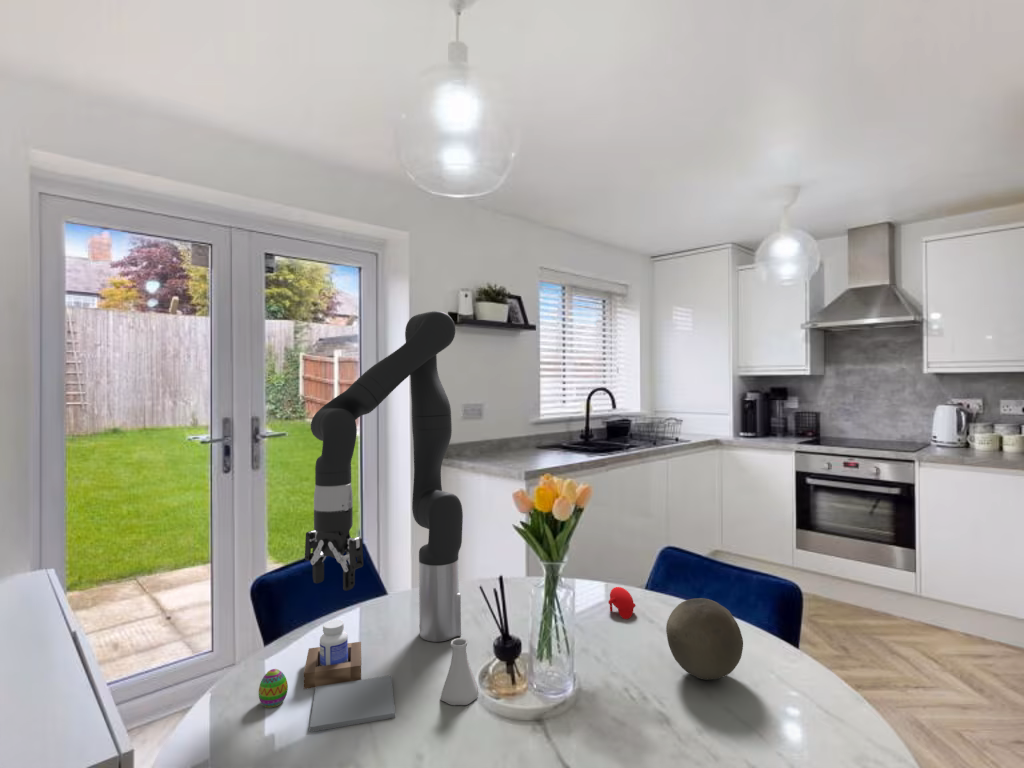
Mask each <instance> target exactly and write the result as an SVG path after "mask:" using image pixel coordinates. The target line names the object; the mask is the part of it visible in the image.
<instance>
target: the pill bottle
mask: <svg viewBox="0 0 1024 768" xmlns="http://www.w3.org/2000/svg"><path fill="white" fill-rule="evenodd" d="M322 625H323V626H322V632H323V633H322V635H321V636H320V638H319V647H320V666H326V665H333V664H340V663H347V662H348V643H349V641H348V638H349V637H348V633H347V632H346V631H345V630H344V628H345V627H344V625H345V623H344V621H343V620H341V619H331V620H329V621H328V620H327V621H326V622H324V623H323V624H322Z"/></svg>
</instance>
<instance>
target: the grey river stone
mask: <svg viewBox="0 0 1024 768" xmlns="http://www.w3.org/2000/svg"><path fill="white" fill-rule="evenodd" d="M665 629H666V630H665V631H666V637H667V638H666V639H667V643H668V647H669V650H670V652H671V654H672V656H673V658H674V660H675V661H676V662H677V663H678V665H679V666H680V667H681V669H683V670H684V671H685V672H687V674H689V675H692V676H694V677H696V678H698V679H700V680H708V681H709V680H717V679H718V680H719V679H722V678H724V677H726V676H728V675H729V674H731V673H732V672H733V671H734V670H735V669H736V667H737V666H738V664H739V663H740V661H741V658H742V656H743V655H742V654H743V652H744V651H743V650H744V639H743V635H742V631H741V629H740V627H739V624H738V622H737V621H736V619H735V618H734V616H733V614H732V613H731V611H730V610H729V609H727V608H726V607H725V606H723V605H721V604H720V603H719V602H717V601H715V600H712V599H709V598H704V597H699V598H696V597H695V598H691V599H690V598H689V599H686V600H684V601H682V602H680V603H679V604H677V606H676V607H675V608H674V609H673V610H672V611H671V612H670V614H669V616H668V618H667V621H666V627H665Z"/></svg>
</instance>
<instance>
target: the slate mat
mask: <svg viewBox="0 0 1024 768" xmlns="http://www.w3.org/2000/svg"><path fill="white" fill-rule="evenodd" d="M314 689H315V690H314V691H315V692H314V697H313V703H312V708H311V716H310V722H309V723H310V724H309V732H310V733H312V732H317V731H323V730H329V729H334V728H341V727H347V726H352V725H353V726H354V725H358V724H364V723H370V722H377V721H382V720H387V719H388V720H389V719H394V718H396V709H395V707H396V706H395V701H394V700H395V699H394V690H393V680H392V674H391V675H384V676H378V677H370V678H365V679H364V678H363V679H361V680H356V681H350V682H343V683H336V684H330V685H323V686H316V688H314Z"/></svg>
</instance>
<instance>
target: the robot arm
mask: <svg viewBox="0 0 1024 768" xmlns="http://www.w3.org/2000/svg"><path fill="white" fill-rule="evenodd" d="M455 335H456V324H455V321H454V320H453V318H452V317H451V316H450V315H449V314H448V313H446V312H443V311H441V310H439V311H436V310H433V311H428V312H423V313H418V314H416V315H415V314H414V315H413V316H412V317H410V318H409V320H408V321H407V324H406V326H405V331H404V338H405V343H404V344H403V345H401V346H400V347H398V349H396V350H395V351H393V352H392V353H390V354H389V355H387V356H386V357H384V358H383V359H381V360H379V361H378V362H376V363H375V364H373V365H372V366H371V367H370V368H369V369H367V370H366V371H365V372H364V373H362V375H361V376H359V377H358V378H357V379H356V380H355V381H354V382H353V383H351V385H350V386H349V387H348V388H347V389H345V390H344V391H343V392H342V393H340V394H339V395H337V396H336V397H334V398H333V399H331V400H330V401H328V402H327V403H325V404H324V405H323V406H322V407H320V409H319V410H317V412H316V413H315V414H314V416H313V417H312V419H311V421H310V430H311V433H312V435H313V436H314V437H315V438H316V439H317V440H319V441H321V442H322V449H321V455H320V456H318V457H317V459H316V460H315V471H314V473H315V475H314V476H315V477H314V479H315V480H314V482H315V483H314V493H313V530H310V531H306V533H305V544H304V559H305V561H306V562H307V561H309V562H310V564H311V565H312V581H313V583H314V584H320V583H322V582H323V581H324V580H325V562H324V561H325V560H326V558H327V557H331V558H334V559H336V562H337V563H338V564H340V566H341V568H342V570H343V571H342V589H343V591H346V592H347V591H350V590H352V589H353V588H354V587H355V585H356V583H355V582H356V570H358V569H360V568H363V566H364V550H363V545H364V544H363V538H362V536H358V537H351V533H350V531H351V528H353V523H354V522H353V518H354V517H353V516H354V515H353V508H354V507H353V497H354V495H353V487H352V459H353V456H354V451H355V446H356V440H357V430H358V428H357V421H356V420H357V419H359V418H360V417H362V416H364V415H368V414H371V413H372V411H374V410H375V409H376V408H377V407H379V405H380V404H381V403H382V402H383V401H384V400H385V399H386V398H387V397H388V396H389V395H390V394H391V393H392V392H393V391H394V390H395V389H396V388H397V387H399V385H401V384H402V383H403V382H404V381H405V380H406V379H407V378H410V379H409V380H410V395H411V399H410V400H411V429H412V441H413V442H412V443H413V486H412V500H411V502H412V505H411V507H412V509H411V510H412V516H413V518H414V521H415V522H416V524H417V525H419V526H420V527H421V528H425V529H427V530H428V543H427V544H423V545H422V546H421V547H420V548H419V551H418V587H419V588H418V589H419V590H418V592H419V593H418V594H419V597H418V598H419V599H418V600H419V603H418V604H419V606H418V607H419V613H418V615H419V617H418V618H419V636H420V638H421V639H422V640H423V641H424V640H425V641H428V642H435V643H436V642H437V643H438V642H447V641H449V640H453V639H455V638H456V637H461V636H462V604H461V603H462V602H461V600H462V599H461V598H462V597H461V596H462V595H461V592H460V591H459V590H460V589H459V587H460V585H459V584H460V583H459V582H460V581H459V567H460V566H459V553H460V550H461V548H462V543H463V519H464V518H463V517H464V513H463V511H464V510H463V506H462V503H461V500H460V499H459V497H458V496H457V495H455V494H454V493H451V492H449V491H443V488H442V464H443V460H444V457H445V455H446V453H447V450H448V448H449V446H450V442H451V438H452V433H453V432H452V431H453V428H452V427H453V426H452V425H453V423H452V407H451V404H450V401H449V397H448V395H447V393H446V391H445V388H444V386H443V384H442V381H441V379H440V377H439V372H438V360H437V359H438V358H437V357H438V355H437V354H439V353H441V352H442V351H443V350H445V349H446V348H448V347H449V346H451V344H452V342H453V341H454V339H455V337H456V336H455ZM409 376H410V377H409ZM344 554H345V555H344Z"/></svg>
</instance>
